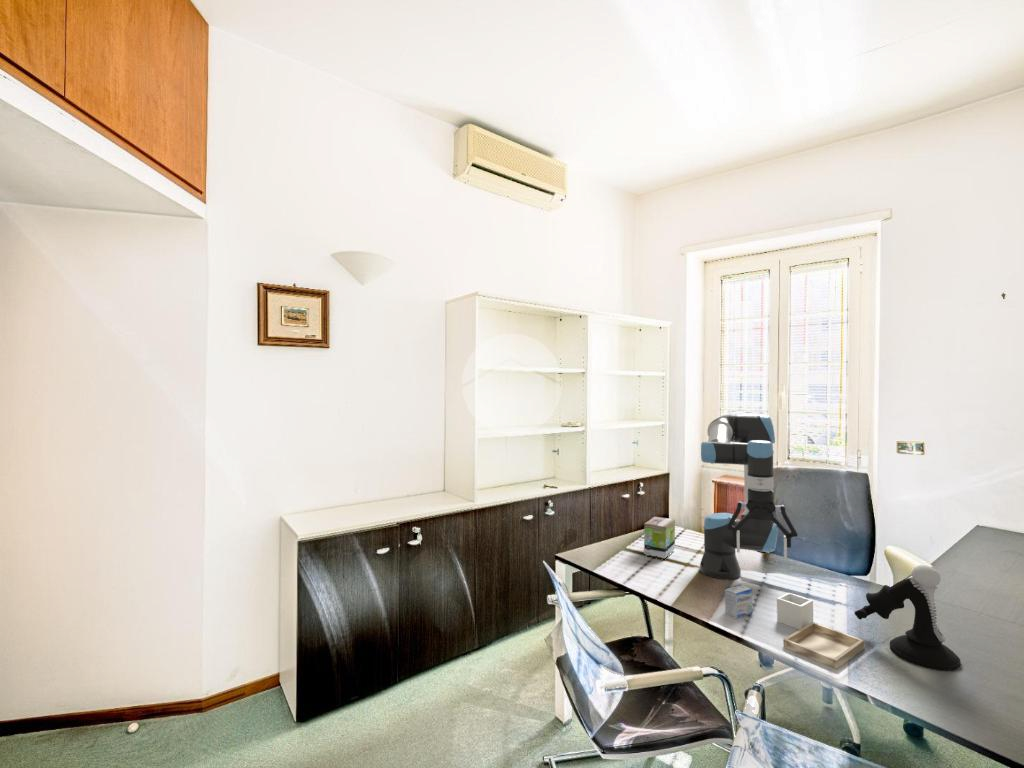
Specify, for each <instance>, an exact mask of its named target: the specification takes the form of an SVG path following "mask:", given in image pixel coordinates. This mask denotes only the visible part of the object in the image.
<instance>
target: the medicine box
mask: <svg viewBox="0 0 1024 768" xmlns="http://www.w3.org/2000/svg"><path fill="white" fill-rule="evenodd" d="M724 604H725V605H724V606H725V607H724V608H725V609H724V610H725V611H724V613H725V614H727V615H729V616H731V617H733V618H735V619H738V618H742V617H745V616H747V615H750V614H752V613H753V589H752V588H750V587H748V586H745V585H743V584H742V585H741V584H740V585H737V586H732V587H729V588H725V589H724Z"/></svg>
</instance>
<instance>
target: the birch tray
mask: <svg viewBox="0 0 1024 768" xmlns="http://www.w3.org/2000/svg"><path fill="white" fill-rule="evenodd" d="M783 648H785V649H787V650H789V651H792V652H795V653H797V654H799V655H802V656H804V657H806V658H809V659H812V660H814V661H817V662H818V663H821V664H823V665H825V666H828V667H830V668H833V669H836V670H838V669H839V668H840V667H842V666H844V665H845V663H847V662H849V660H850V659H852V658H854V657H855V656H856V655H857V654H859V653H860V652H862V651H863V650H864V649H865V640H864V639H862V638H859V637H856V636H853V635H851V634H847V633H846V632H845V633H844V632H842V631H840V630H836V629H834V628H830V627H827V626H825V625H823V624H819V623H817V622H815V621H813V622H811V623H810V624H808V625H806V626H805V627H803V628H801V629H800V630H799V629H797V630H796V631H795V632H793V633H791V634H790V635H788V636H786V637H784V638H783Z"/></svg>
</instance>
